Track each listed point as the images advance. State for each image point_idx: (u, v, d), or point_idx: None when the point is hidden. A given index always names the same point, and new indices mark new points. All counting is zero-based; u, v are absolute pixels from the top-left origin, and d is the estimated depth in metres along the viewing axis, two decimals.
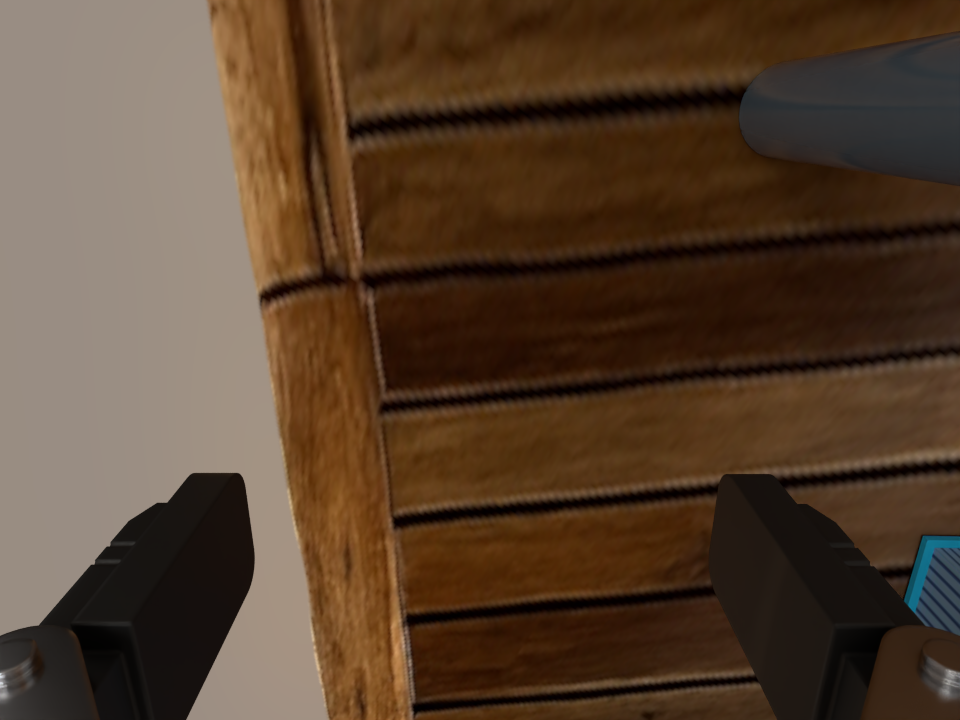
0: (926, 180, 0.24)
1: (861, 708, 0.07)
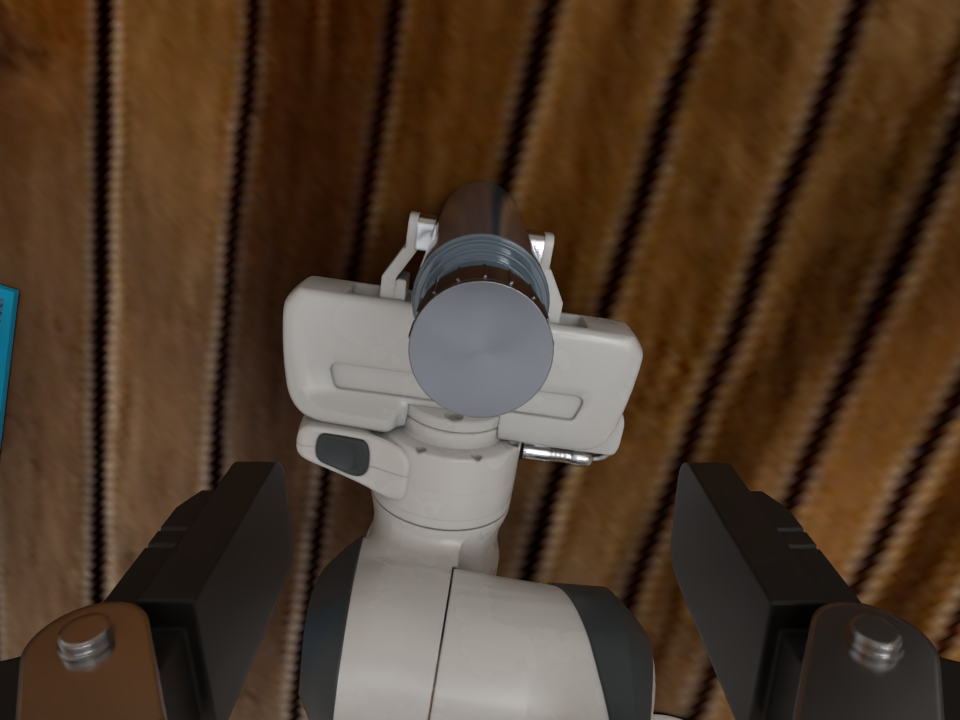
0: (431, 239, 0.29)
1: (794, 680, 0.08)
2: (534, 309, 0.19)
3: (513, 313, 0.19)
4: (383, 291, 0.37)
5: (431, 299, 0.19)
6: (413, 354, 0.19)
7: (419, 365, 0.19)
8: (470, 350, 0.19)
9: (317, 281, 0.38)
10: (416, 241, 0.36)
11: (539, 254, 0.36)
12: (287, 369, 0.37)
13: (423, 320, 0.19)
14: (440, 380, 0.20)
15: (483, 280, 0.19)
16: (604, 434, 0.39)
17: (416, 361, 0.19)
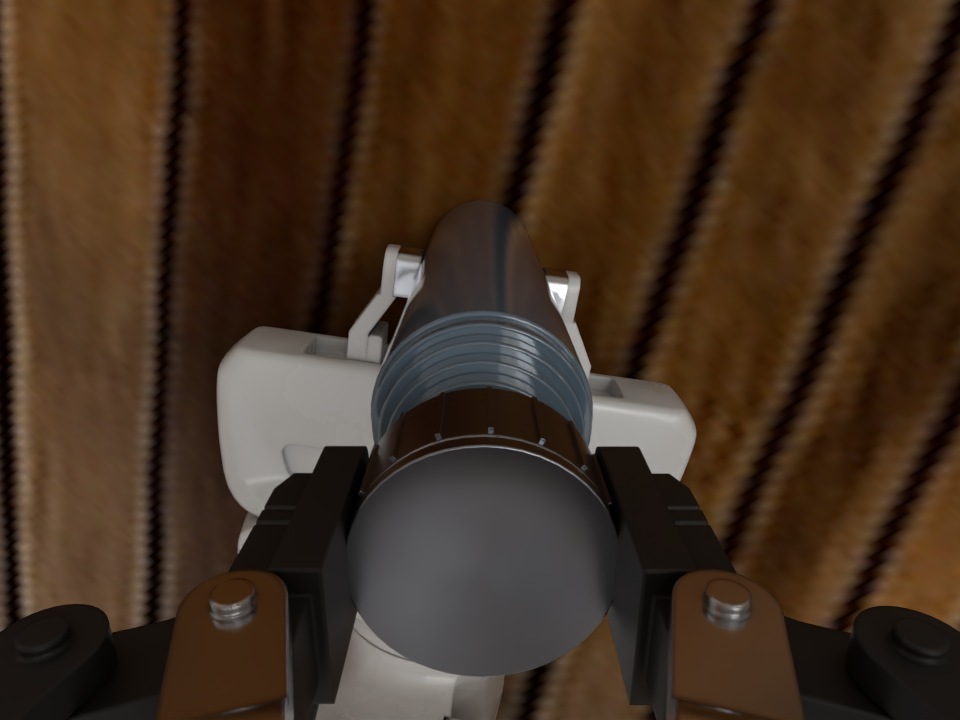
0: (409, 299, 0.19)
1: (661, 642, 0.08)
2: (587, 496, 0.10)
3: (546, 503, 0.10)
4: (351, 351, 0.27)
5: (385, 478, 0.10)
6: (353, 573, 0.10)
7: (365, 592, 0.10)
8: (462, 567, 0.10)
9: (265, 335, 0.28)
10: (395, 285, 0.27)
11: (560, 302, 0.27)
12: (224, 454, 0.28)
13: (370, 516, 0.10)
14: (406, 617, 0.10)
15: (487, 442, 0.09)
16: None
17: (359, 585, 0.10)
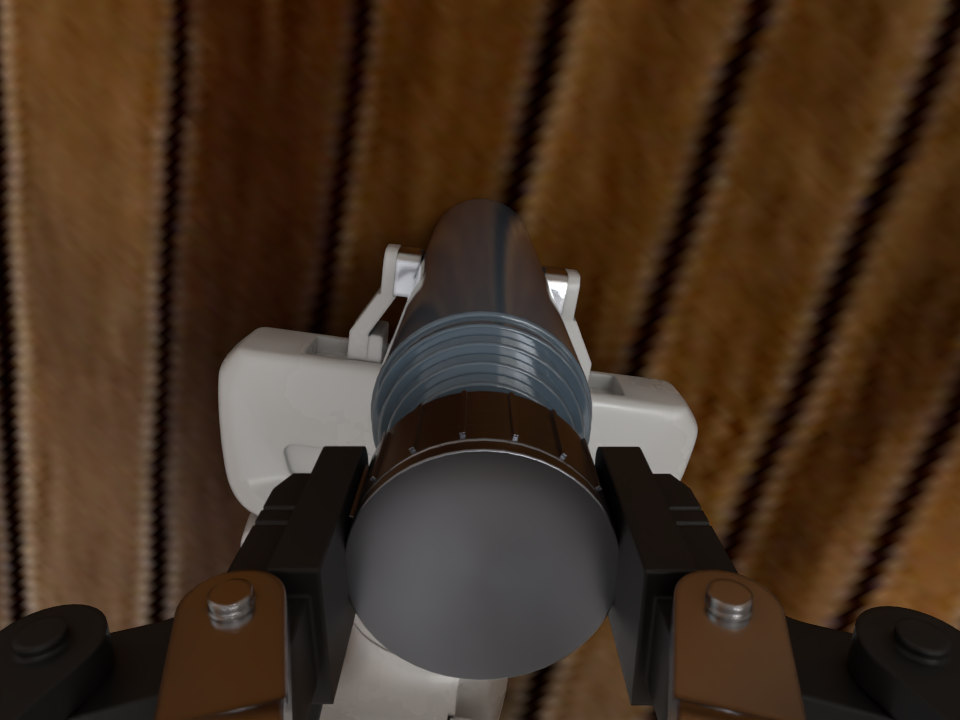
0: (408, 299, 0.20)
1: (663, 643, 0.08)
2: (423, 469, 0.09)
3: (421, 505, 0.10)
4: (352, 350, 0.27)
5: (361, 621, 0.10)
6: (454, 670, 0.11)
7: (476, 668, 0.11)
8: (473, 589, 0.10)
9: (266, 336, 0.28)
10: (394, 285, 0.27)
11: (560, 300, 0.27)
12: (226, 455, 0.28)
13: (395, 644, 0.10)
14: (515, 646, 0.11)
15: (347, 535, 0.10)
16: None
17: (468, 670, 0.11)
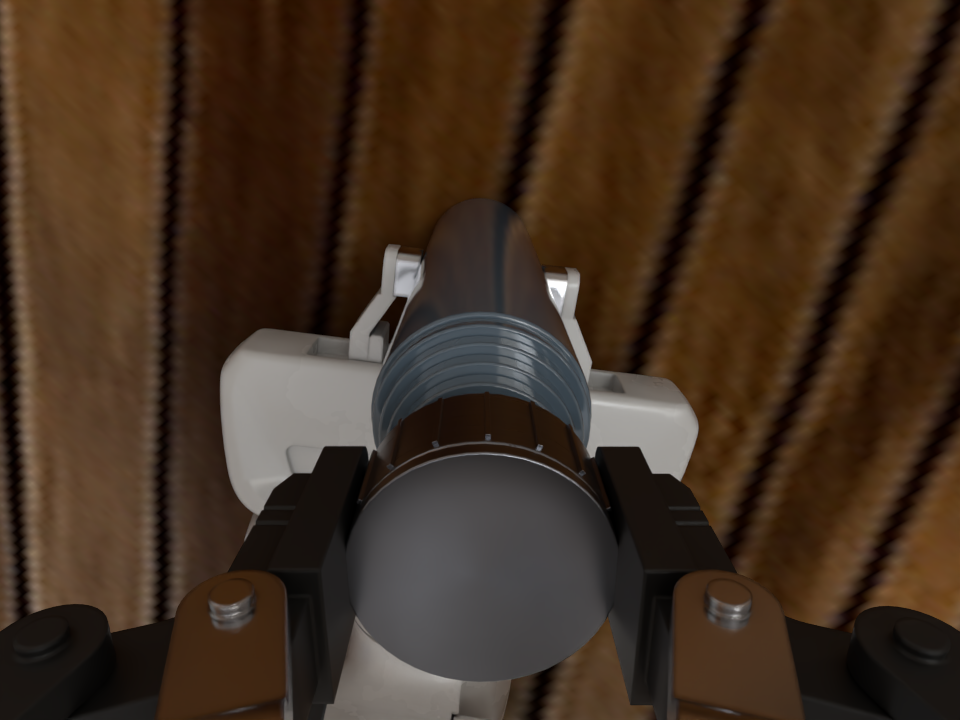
0: (408, 300, 0.20)
1: (662, 643, 0.08)
2: (354, 595, 0.10)
3: (392, 604, 0.10)
4: (353, 351, 0.27)
5: (506, 679, 0.11)
6: (592, 625, 0.10)
7: (595, 606, 0.10)
8: (497, 587, 0.10)
9: (267, 337, 0.29)
10: (395, 285, 0.27)
11: (560, 299, 0.27)
12: (228, 456, 0.28)
13: (539, 663, 0.11)
14: (580, 568, 0.10)
15: (412, 662, 0.11)
16: None
17: (595, 613, 0.10)
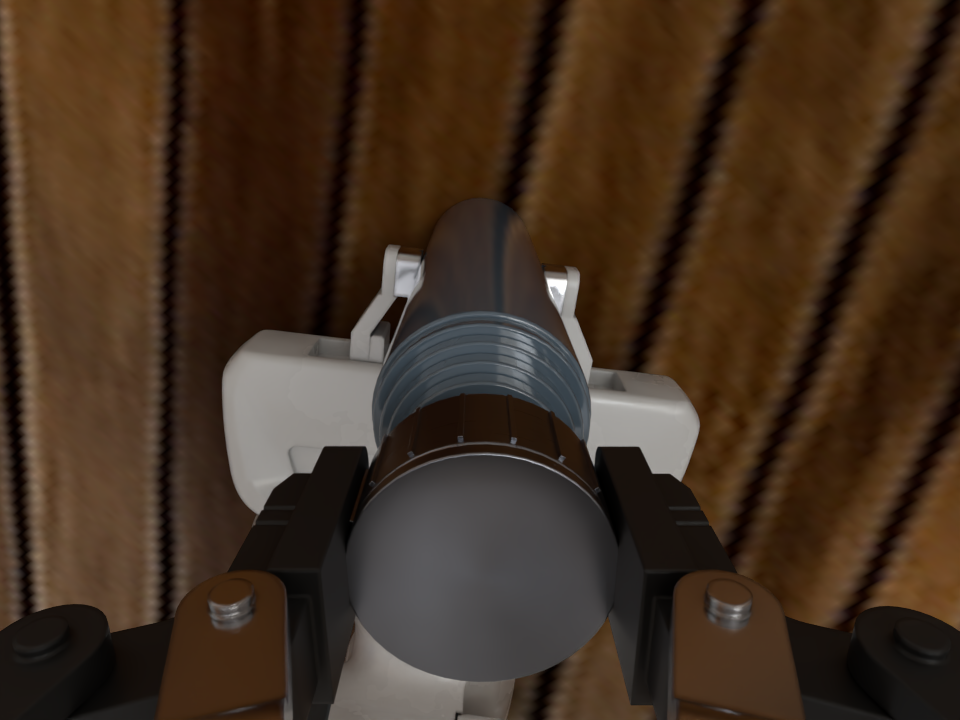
0: (408, 300, 0.20)
1: (662, 643, 0.08)
2: (469, 677, 0.11)
3: (491, 653, 0.11)
4: (354, 351, 0.28)
5: None
6: (577, 495, 0.10)
7: (553, 488, 0.10)
8: (499, 567, 0.10)
9: (268, 338, 0.29)
10: (395, 285, 0.27)
11: (560, 298, 0.27)
12: (230, 457, 0.28)
13: (607, 554, 0.10)
14: (500, 493, 0.10)
15: (569, 652, 0.11)
16: None
17: (563, 490, 0.10)
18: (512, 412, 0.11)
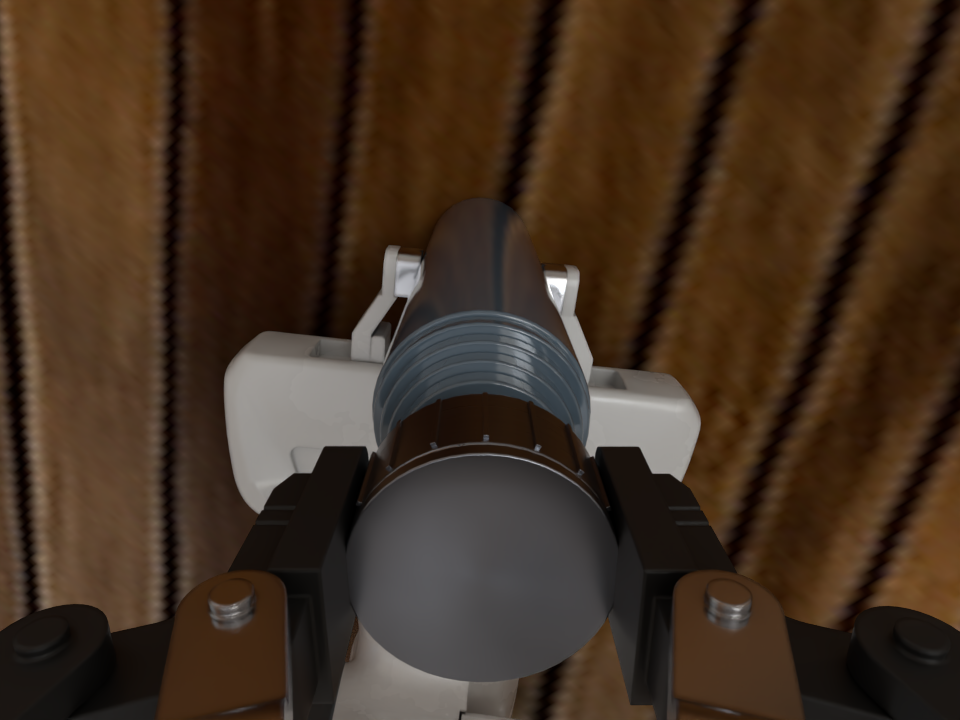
0: (408, 300, 0.20)
1: (662, 643, 0.08)
2: (601, 616, 0.10)
3: (578, 591, 0.10)
4: (355, 352, 0.28)
5: (533, 460, 0.09)
6: (413, 478, 0.09)
7: (398, 497, 0.10)
8: (476, 560, 0.10)
9: (269, 340, 0.29)
10: (395, 285, 0.27)
11: (560, 296, 0.27)
12: (233, 458, 0.28)
13: (488, 467, 0.09)
14: (391, 541, 0.10)
15: (609, 521, 0.10)
16: None
17: (403, 489, 0.10)
18: (369, 470, 0.11)
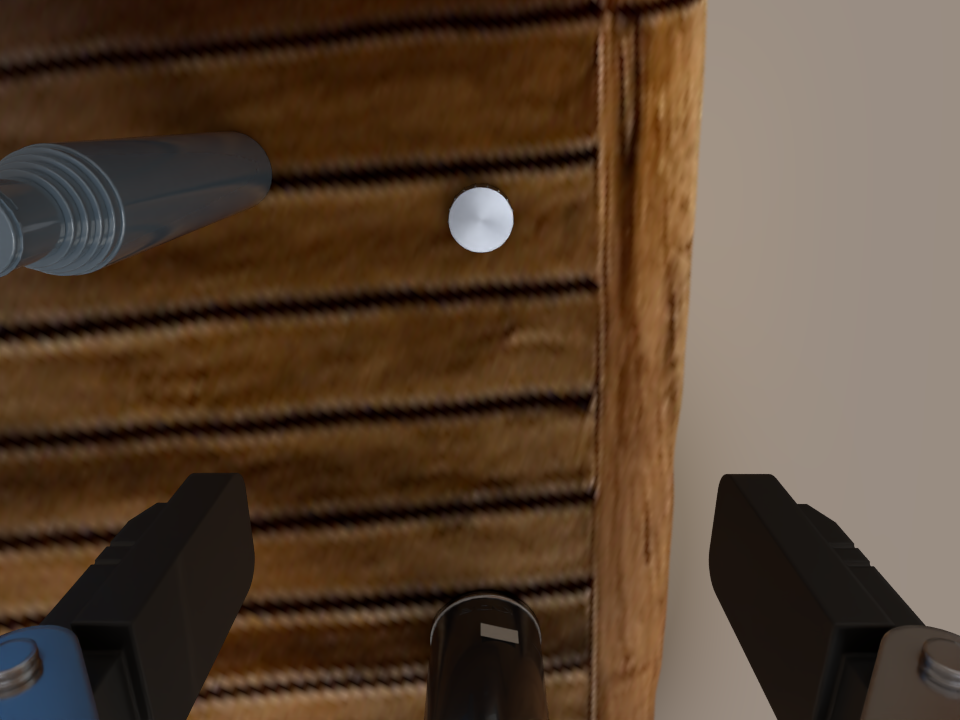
0: (130, 140, 0.30)
1: (861, 708, 0.07)
2: (499, 195, 0.43)
3: (490, 199, 0.43)
4: None
5: (454, 201, 0.43)
6: (451, 228, 0.43)
7: (455, 232, 0.43)
8: (476, 220, 0.43)
9: None
10: None
11: None
12: None
13: (452, 211, 0.43)
14: (466, 237, 0.44)
15: (474, 187, 0.43)
16: None
17: (453, 231, 0.43)
18: None
